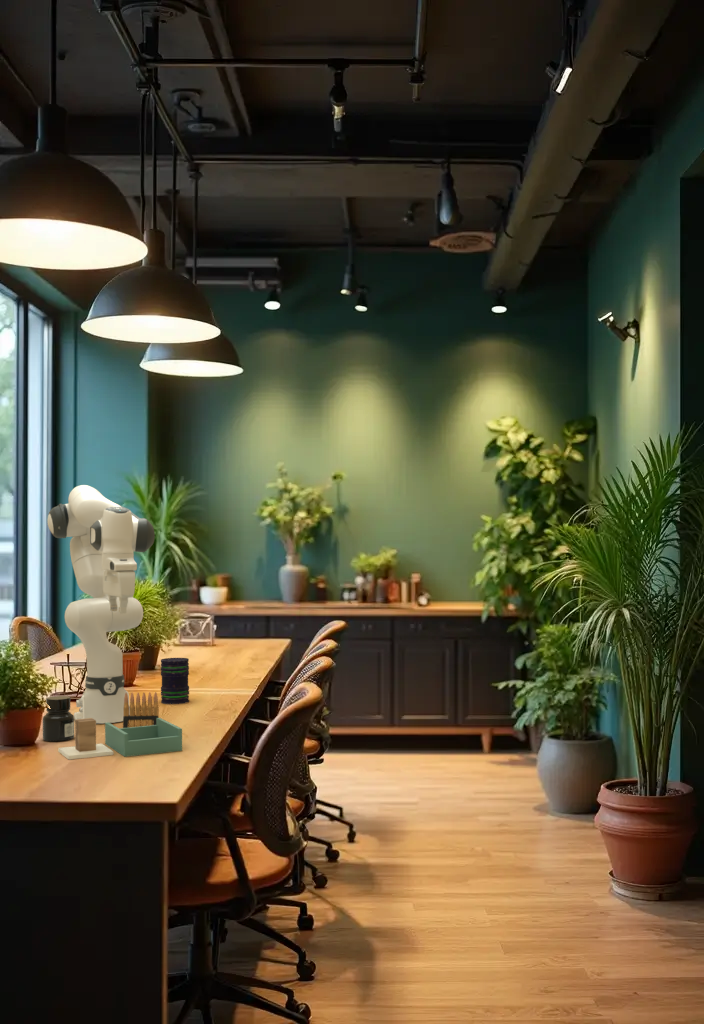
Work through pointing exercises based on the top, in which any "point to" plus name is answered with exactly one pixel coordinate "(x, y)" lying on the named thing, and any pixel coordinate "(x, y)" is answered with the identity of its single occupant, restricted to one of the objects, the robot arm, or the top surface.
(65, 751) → the board
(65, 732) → the ink bottle
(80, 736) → the walnut block
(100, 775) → the top surface
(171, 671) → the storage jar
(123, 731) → the box
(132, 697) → the ammunition clip
